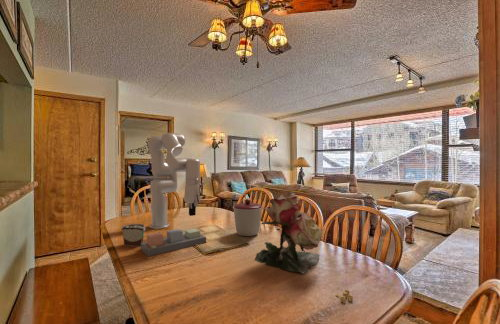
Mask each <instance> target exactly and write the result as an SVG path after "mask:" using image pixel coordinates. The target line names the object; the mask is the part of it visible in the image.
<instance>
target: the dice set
mask: <svg viewBox="0 0 500 324" xmlns="http://www.w3.org/2000/svg"><path fill="white" fill-rule="evenodd" d="M335 297H337V298H339V299H340V302H341V303H343V304H344V303H345V304H346V298H347V300H348V301H349V302H353V299H354V297H353V295H352V294H350V289H344V291H342V296H341V295H340V294H338V293H336V294H335Z"/></svg>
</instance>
